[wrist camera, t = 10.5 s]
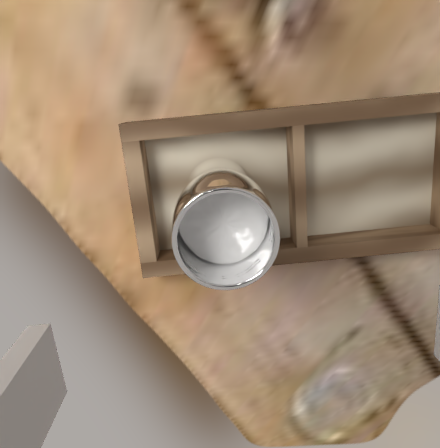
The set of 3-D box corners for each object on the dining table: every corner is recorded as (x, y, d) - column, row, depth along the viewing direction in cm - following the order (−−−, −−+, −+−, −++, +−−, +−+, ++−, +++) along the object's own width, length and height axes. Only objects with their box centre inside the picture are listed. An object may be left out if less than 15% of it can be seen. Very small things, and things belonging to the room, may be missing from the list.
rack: (127, 121, 38) (118, 124, 34) (446, 91, 38) (475, 90, 34) (148, 261, 42) (142, 278, 38) (436, 233, 42) (461, 246, 38)
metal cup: (238, 140, 37) (259, 164, 23) (265, 207, 39) (299, 268, 25) (169, 170, 38) (147, 211, 23) (199, 235, 40) (196, 309, 25)
